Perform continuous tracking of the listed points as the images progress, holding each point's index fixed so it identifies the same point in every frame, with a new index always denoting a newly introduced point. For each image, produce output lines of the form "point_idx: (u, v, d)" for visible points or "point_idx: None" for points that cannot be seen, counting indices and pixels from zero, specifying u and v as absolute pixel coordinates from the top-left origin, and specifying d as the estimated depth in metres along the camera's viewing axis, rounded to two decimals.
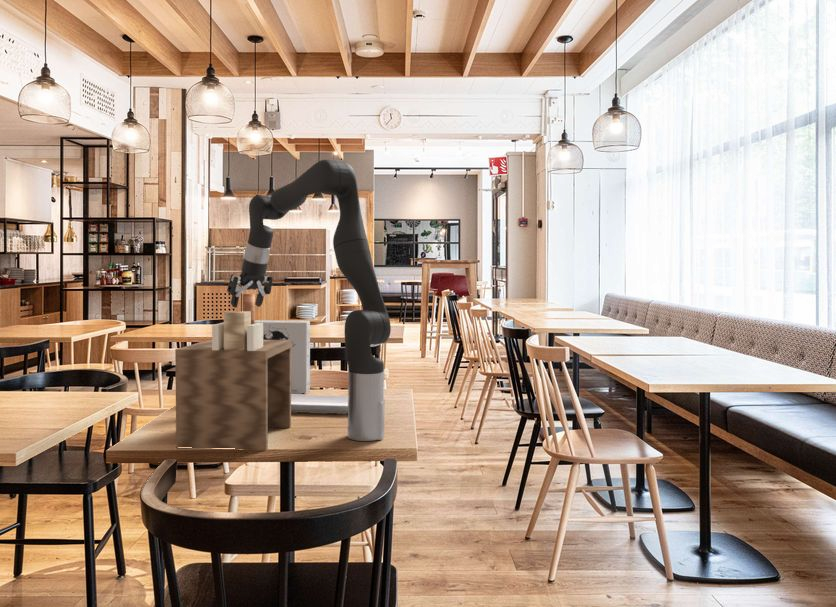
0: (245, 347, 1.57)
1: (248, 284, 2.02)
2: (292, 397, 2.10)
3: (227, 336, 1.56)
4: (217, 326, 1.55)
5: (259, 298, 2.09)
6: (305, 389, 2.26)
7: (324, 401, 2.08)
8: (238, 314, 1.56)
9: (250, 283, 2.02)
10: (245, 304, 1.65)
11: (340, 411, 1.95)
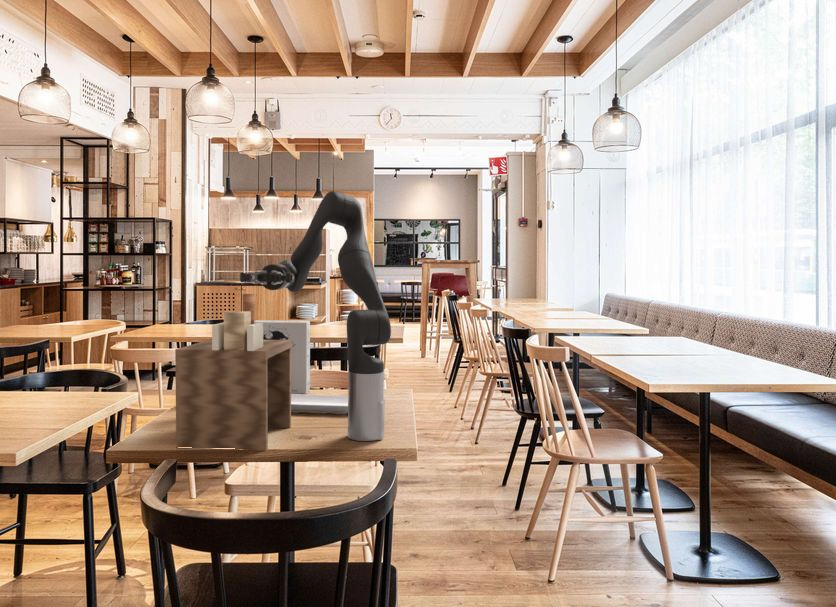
0: (245, 347, 1.57)
1: (261, 271, 1.84)
2: (292, 397, 2.11)
3: (227, 336, 1.56)
4: (217, 326, 1.55)
5: None
6: (305, 389, 2.26)
7: (324, 401, 2.08)
8: (238, 314, 1.56)
9: (263, 270, 1.85)
10: (245, 304, 1.65)
11: (340, 411, 1.95)
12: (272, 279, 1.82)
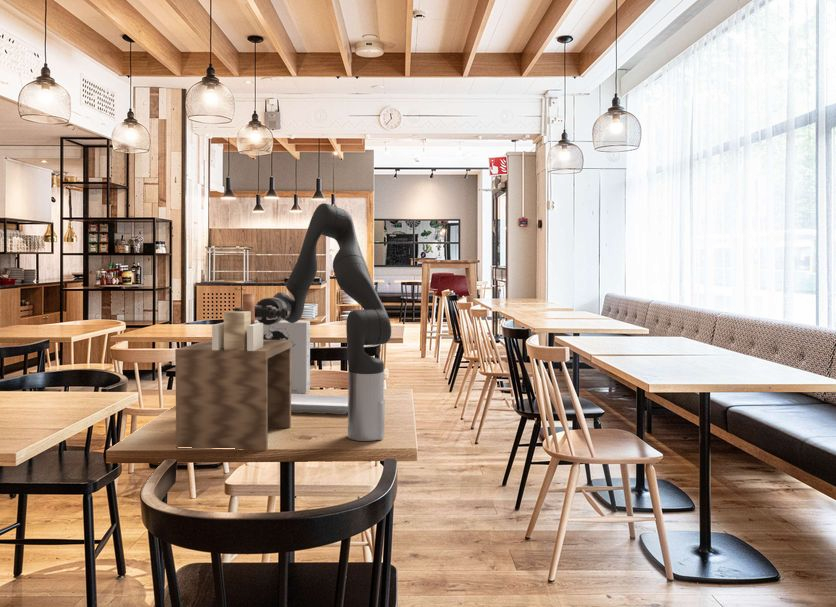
0: (245, 347, 1.57)
1: (256, 305, 1.79)
2: (293, 397, 2.11)
3: (227, 336, 1.56)
4: (217, 326, 1.55)
5: None
6: (305, 389, 2.26)
7: (325, 401, 2.08)
8: (238, 314, 1.56)
9: (258, 305, 1.80)
10: (245, 304, 1.65)
11: (339, 411, 1.95)
12: (267, 314, 1.77)
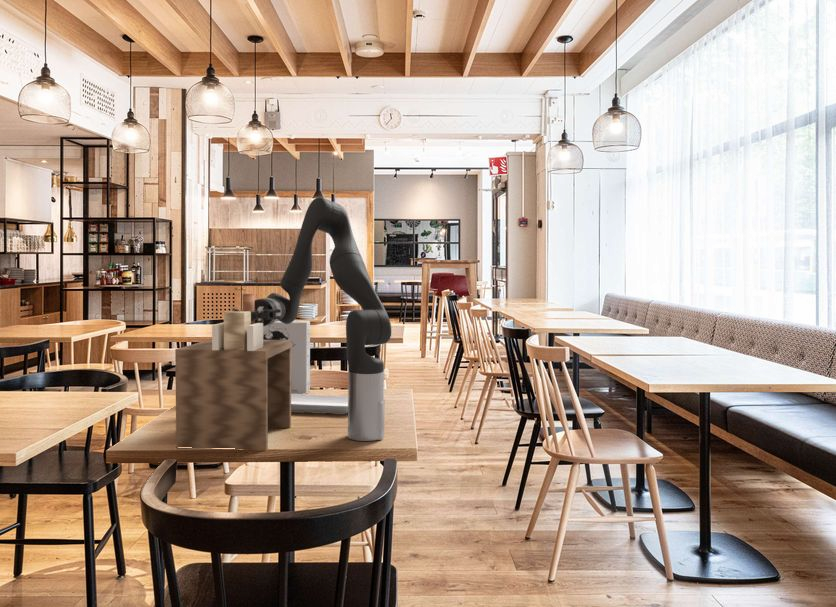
0: (245, 347, 1.57)
1: None
2: (294, 397, 2.11)
3: (227, 336, 1.56)
4: (217, 326, 1.55)
5: None
6: (305, 389, 2.26)
7: (325, 401, 2.08)
8: (238, 314, 1.56)
9: None
10: (245, 304, 1.65)
11: (339, 411, 1.95)
12: None
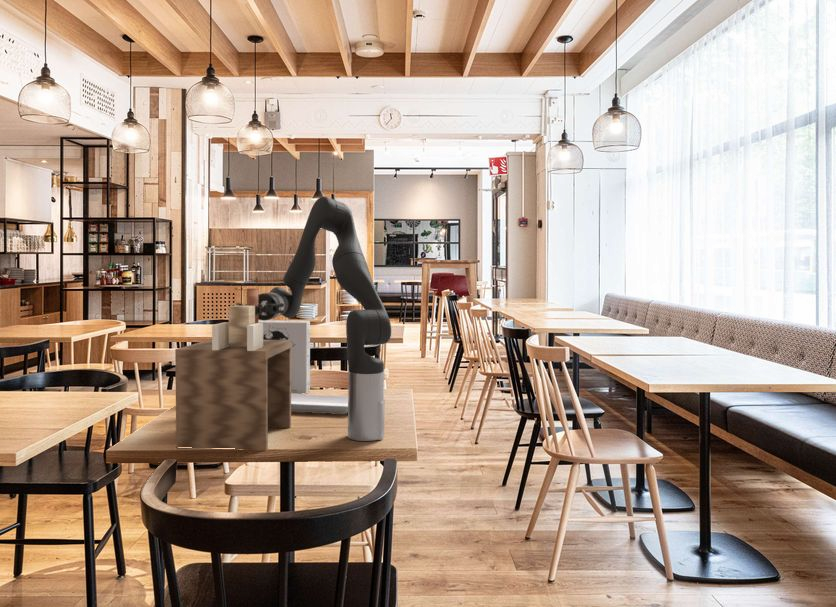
0: None
1: None
2: (294, 397, 2.11)
3: (232, 330, 1.60)
4: (217, 326, 1.55)
5: None
6: (305, 389, 2.26)
7: (325, 401, 2.08)
8: (243, 308, 1.59)
9: None
10: (249, 299, 1.69)
11: (338, 411, 1.95)
12: None
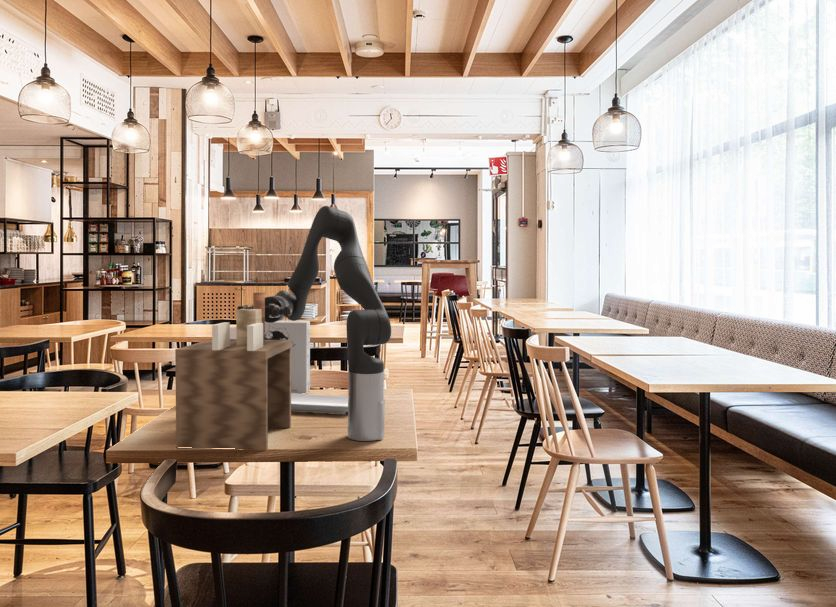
0: None
1: None
2: (295, 396, 2.11)
3: (239, 332, 1.65)
4: (217, 326, 1.55)
5: None
6: (305, 389, 2.26)
7: (326, 401, 2.08)
8: (250, 311, 1.65)
9: None
10: (256, 303, 1.74)
11: (338, 411, 1.95)
12: (270, 313, 1.80)
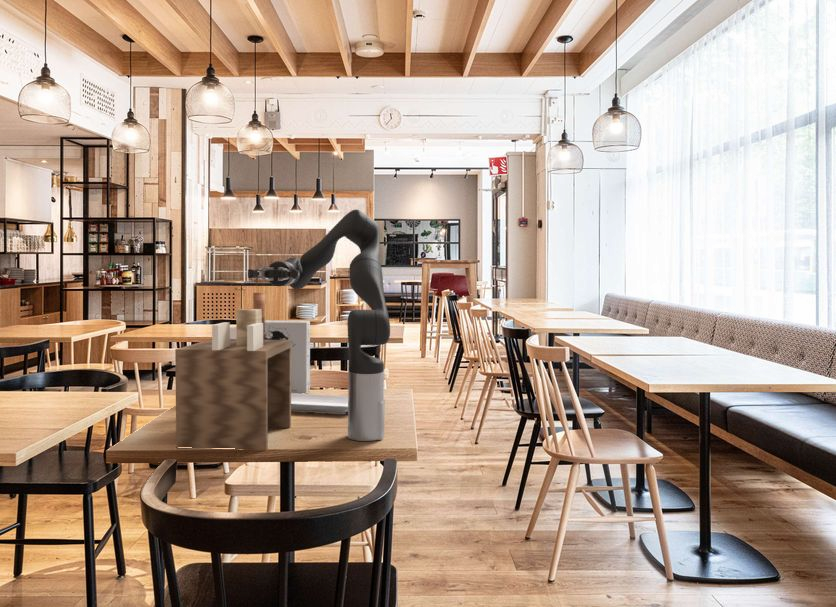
0: None
1: (268, 267, 1.91)
2: (295, 396, 2.12)
3: (239, 332, 1.65)
4: (217, 326, 1.55)
5: None
6: (305, 389, 2.26)
7: (326, 401, 2.08)
8: (250, 311, 1.65)
9: (270, 267, 1.92)
10: (256, 303, 1.74)
11: (337, 411, 1.95)
12: (278, 275, 1.89)
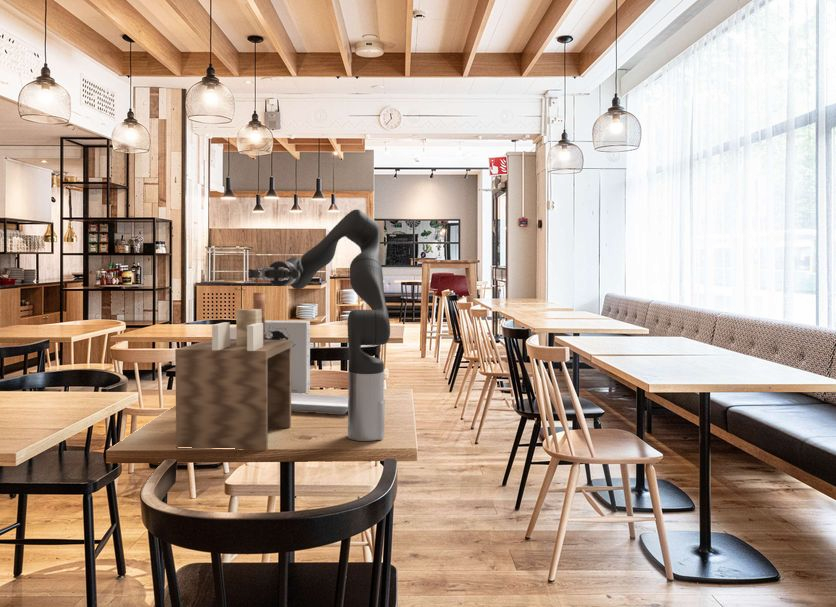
0: None
1: (268, 267, 1.91)
2: (296, 396, 2.12)
3: (239, 332, 1.65)
4: (217, 326, 1.55)
5: None
6: (305, 389, 2.26)
7: (326, 401, 2.09)
8: (250, 311, 1.65)
9: (271, 267, 1.92)
10: (256, 303, 1.74)
11: (337, 411, 1.95)
12: (279, 275, 1.89)
